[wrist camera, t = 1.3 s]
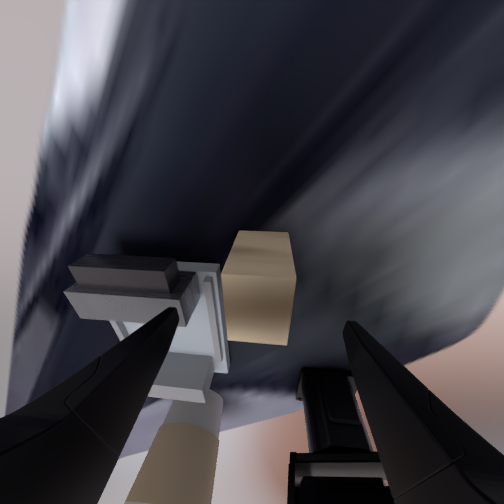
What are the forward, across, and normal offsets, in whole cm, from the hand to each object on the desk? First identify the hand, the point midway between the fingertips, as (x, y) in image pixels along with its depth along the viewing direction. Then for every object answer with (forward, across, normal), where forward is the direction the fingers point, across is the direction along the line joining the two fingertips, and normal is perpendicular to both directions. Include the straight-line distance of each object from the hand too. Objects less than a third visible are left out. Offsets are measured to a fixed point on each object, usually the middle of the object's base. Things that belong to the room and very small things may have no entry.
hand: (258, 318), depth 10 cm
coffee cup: (+6, +9, +24) cm, 26 cm away
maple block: (+6, 0, 0) cm, 6 cm away
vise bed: (+6, +9, +7) cm, 13 cm away
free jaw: (+4, +9, +1) cm, 10 cm away
